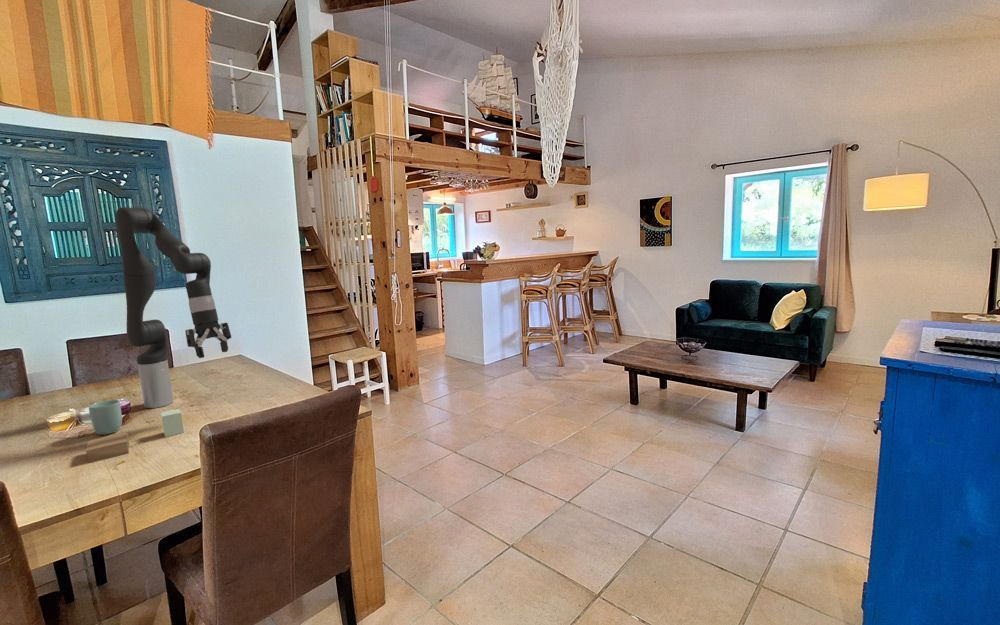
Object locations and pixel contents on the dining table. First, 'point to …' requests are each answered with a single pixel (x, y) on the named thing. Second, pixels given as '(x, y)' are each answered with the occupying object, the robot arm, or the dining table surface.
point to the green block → (172, 422)
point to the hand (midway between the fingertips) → (213, 354)
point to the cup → (106, 416)
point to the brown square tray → (107, 447)
